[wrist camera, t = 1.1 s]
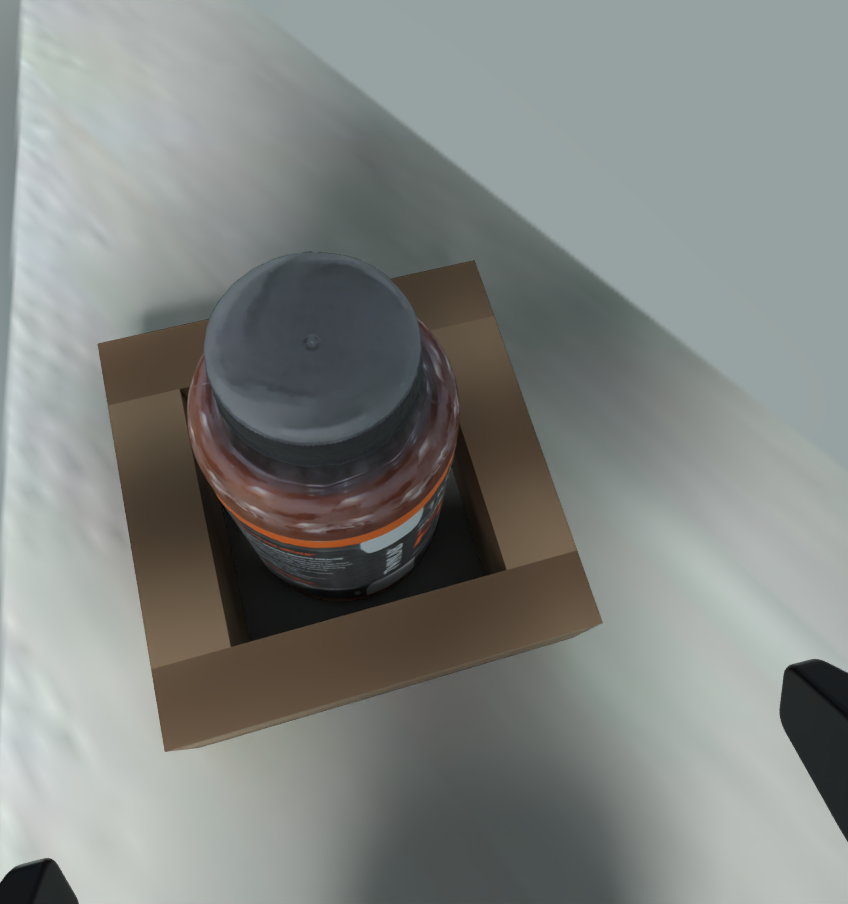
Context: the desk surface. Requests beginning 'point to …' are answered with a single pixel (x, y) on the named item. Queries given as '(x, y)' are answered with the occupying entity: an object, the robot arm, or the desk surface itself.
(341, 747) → the desk surface
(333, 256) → the supplement bottle
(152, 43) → the desk surface
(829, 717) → the robot arm
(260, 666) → the walnut pocket block
